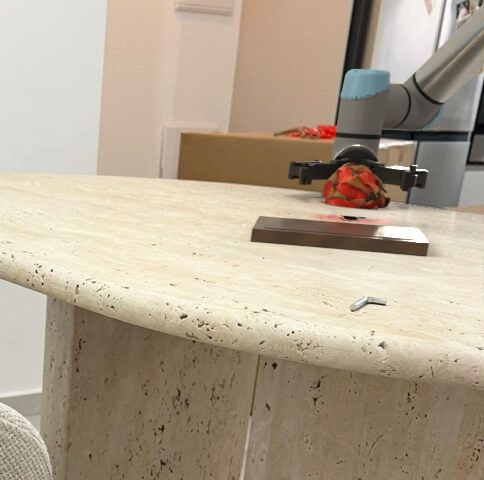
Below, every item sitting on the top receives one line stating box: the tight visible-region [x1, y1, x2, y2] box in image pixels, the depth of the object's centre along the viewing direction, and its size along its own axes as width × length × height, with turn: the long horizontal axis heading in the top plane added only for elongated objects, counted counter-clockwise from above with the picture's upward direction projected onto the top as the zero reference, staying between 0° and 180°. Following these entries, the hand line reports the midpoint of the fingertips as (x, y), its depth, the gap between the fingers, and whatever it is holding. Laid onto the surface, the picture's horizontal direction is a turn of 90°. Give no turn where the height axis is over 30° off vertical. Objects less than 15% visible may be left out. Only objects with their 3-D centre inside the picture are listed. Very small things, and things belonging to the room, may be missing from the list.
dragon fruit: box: [320, 162, 391, 221], centre depth 140 cm, size 8×8×12 cm
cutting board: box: [250, 215, 430, 257], centre depth 117 cm, size 20×14×2 cm
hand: (358, 178), depth 137 cm, fingers open, 13 cm apart
